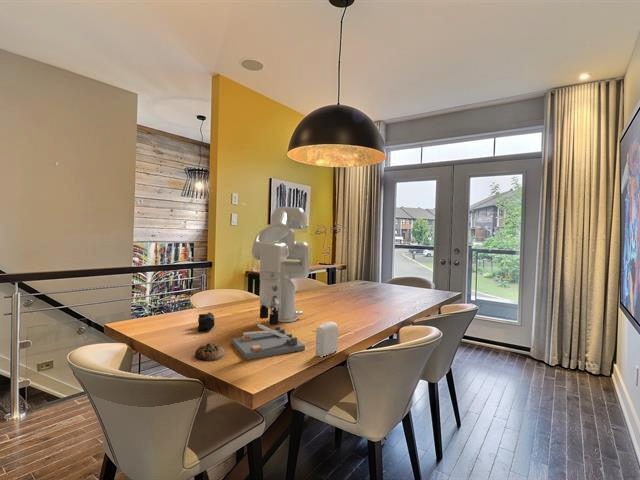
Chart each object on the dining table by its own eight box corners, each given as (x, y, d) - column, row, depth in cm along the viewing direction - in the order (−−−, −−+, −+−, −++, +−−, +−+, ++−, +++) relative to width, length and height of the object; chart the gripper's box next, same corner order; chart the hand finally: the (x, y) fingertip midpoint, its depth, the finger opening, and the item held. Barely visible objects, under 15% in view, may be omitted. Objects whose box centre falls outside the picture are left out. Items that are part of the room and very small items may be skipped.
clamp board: (284, 335, 152) (284, 324, 152) (304, 350, 135) (305, 337, 135) (231, 343, 140) (231, 331, 140) (246, 360, 123) (247, 346, 122)
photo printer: (322, 358, 126) (323, 326, 126) (313, 355, 129) (314, 323, 129) (338, 351, 134) (339, 321, 134) (330, 348, 137) (331, 319, 137)
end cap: (214, 331, 155) (214, 317, 155) (198, 332, 153) (198, 317, 153) (214, 325, 165) (214, 311, 164) (198, 326, 163) (199, 312, 162)
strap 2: (290, 341, 138) (292, 337, 138) (293, 343, 135) (295, 339, 135) (256, 326, 130) (258, 322, 130) (259, 328, 127) (261, 324, 128)
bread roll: (188, 356, 125) (190, 342, 125) (212, 351, 134) (214, 339, 134) (206, 365, 118) (209, 350, 119) (231, 360, 127) (233, 346, 128)
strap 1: (280, 332, 148) (280, 328, 148) (282, 334, 146) (283, 330, 146) (242, 335, 140) (243, 331, 140) (245, 337, 137) (245, 333, 137)
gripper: (288, 278, 120) (287, 326, 120) (270, 272, 135) (269, 315, 135) (269, 279, 116) (267, 328, 116) (252, 273, 131) (251, 316, 131)
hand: (268, 321), depth 126 cm, fingers open, 9 cm apart
